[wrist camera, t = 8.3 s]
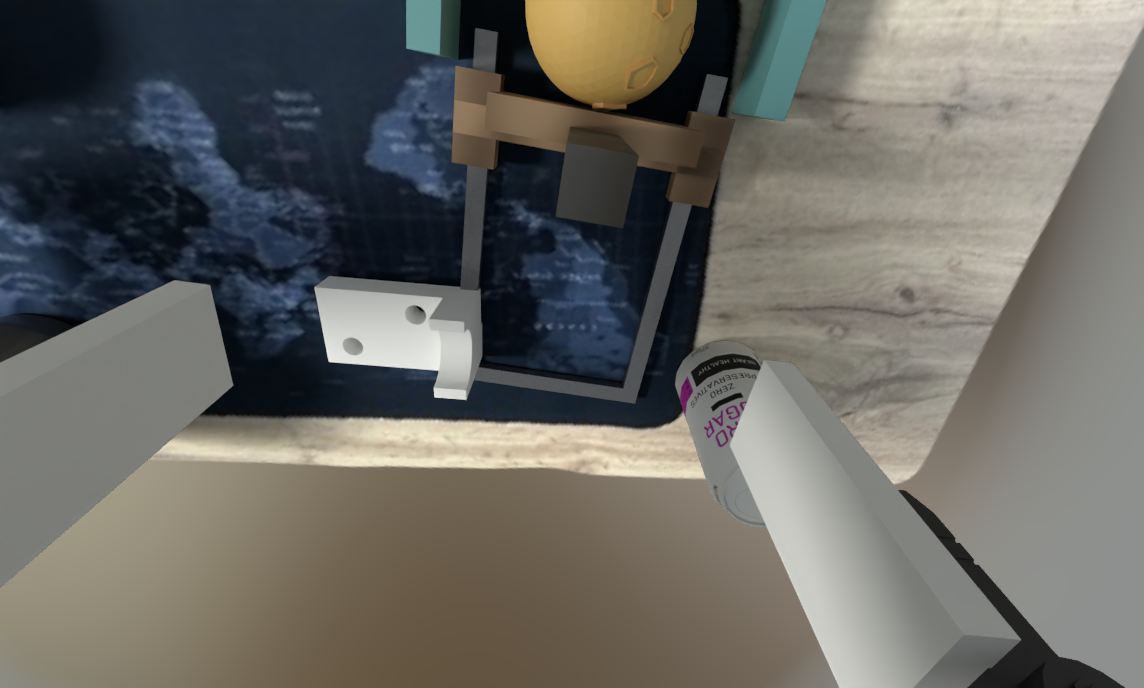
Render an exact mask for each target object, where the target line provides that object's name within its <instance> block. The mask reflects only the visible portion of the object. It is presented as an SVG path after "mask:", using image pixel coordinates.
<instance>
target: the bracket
mask: <svg viewBox="0 0 1144 688" xmlns="http://www.w3.org/2000/svg"><path fill="white" fill-rule="evenodd" d="M314 288H315V293H316V299H317V304H318V309H319V314H320V319H321V324H322V330H323V335H324V340H325V345H326V350H327V355H328V361H329V362H336V363H348V364H361V365H374V366H387V367H399V368H412V369H425V370H438V371H439V372H438V377H437V380H436V383H435V386H434V397H437V398H450V399H463V400H466V399H467V397H468V394H469V391H470V389H471V386H472V383H473V380H474V378H475V375H476V372H477V369H478V367H479V364H480V361H481V358H482V322H481V289H479V290H478V291H475V290H463V289H460V288H461V287H454V286H442V285H430V284H419V283H407V282H395V281H383V280H371V279H359V278H347V277H335V276H329V277H327V278H326V279H325V280H323V281H322V282H321V283H319V284H318V285H317V286H315V287H314ZM416 306H419V307H421V308H422V309H423V310H424V311H425V312H424V311H421V310H419V309H418V308H417V307H416Z"/></svg>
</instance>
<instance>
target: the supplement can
mask: <svg viewBox="0 0 1144 688" xmlns="http://www.w3.org/2000/svg"><path fill="white" fill-rule="evenodd" d="M762 364H763V363H762V362H761V360H760V359H759V358H758V356H757V355H756V354H755V352H754V351H753V350H752V349H750V348H748V347H747V346H745V345H743V344H741V343H737V342H731V341H719V342H713V343H708V344H706V345H704V346H702V347H700V348H698V349H696V350H694V351H693V352H692V353H691V354H690V355H688V356H687V357H686V358H685V359H684V360H683V362H682V364H681V365H680V367H679V369H678V371H677V373H676V382H675V386H676V389H677V392H678V396H679V399H680V402H681V405H682V408H683V411H684V414H685V417H686V420H687V423H688V426H689V429H690V432H691V435H692V438H693V441H694V444H695V447H696V450H697V453H698V456H699V459H700V462H701V465H702V468H703V471H704V474H705V477H706V480H707V483H708V486H709V489H710V492H711V495H712V497H713V498H714V499H715V500H716V501H717V502H718V503H719V504H720V505H721V506H722V507H723V508H724V509H725V510H726V511H727V512H728V513H729V514H730V515H731V516H732V517H733V518H734V519H735V520H737V521H740V522H742V523H744V524H746V525H749V526H757V527H767V526H766V524H765V522H764V520H763V518H762V515H761V513H760V511H759V509H758V507H757V504H756V502H755V500H754V498H753V495H752V493H751V491H750V489H749V487H748V484H747V482H746V480H745V478H744V476H743V473H742V471H741V469H740V467H739V465H738V462H737V460H736V458H735V456H734V453H733V451H732V449H731V447H730V443H731V440H732V438H733V435H734V433H735V430H736V428H737V425H738V423H739V420H740V418H741V416H742V413H743V411H744V408H745V406H746V403H747V401H748V398H749V396H750V393H751V391H752V388H753V386H754V383H755V381H756V379H757V376H758V374H759V371H760V369H761V366H762Z"/></svg>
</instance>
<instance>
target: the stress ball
mask: <svg viewBox="0 0 1144 688" xmlns="http://www.w3.org/2000/svg"><path fill="white" fill-rule="evenodd" d="M525 8H526V23H527V29H528V34H529V39H530V42H531V45H532V48H533V51H534V54H535V56H536V58H537V60H538V62H539V64H540V66H541V67H542V69H543V70H544V72H545V73H546V75H547V76H548V77H549V79H550V80H551V81H552V82H553V83H554V84H555V85H556V86H557V87H558V88H559V89H560V90H561V91H563V92H564V93H565V94H567V95H568V96H570V97H571V98H573V99H575V100H577V101H579V102H582V103H584V104H588V105H591V106H592V109H593V110H594V111H610V110H616V109H624V110H625V109H626V107H627V104H630V103H633V102H635V101H637V100H639V99H641V98H643V97H645V96H647V95H648V94H650V93H651V92H652V91H654V90H655V89H656V88H658V87H659V86H660V85H661V84H662V83H663V82H664V81H665V80H666V79H667V78H668V77H669V75H670V74H671V73H672V72H673V71H674V69H675V68H676V67H677V66H678V64H679V63H680V61H681V58H682V56H683V54H684V53H685V51H686V50H687V48H688V47H689V45H690V42H691V39H692V36H693V33H694V22H695V16H696V9H697V0H525Z"/></svg>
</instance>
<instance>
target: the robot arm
mask: <svg viewBox="0 0 1144 688" xmlns="http://www.w3.org/2000/svg"><path fill="white" fill-rule="evenodd" d="M232 386H233V382H232V378H231V373H230V369H229V365H228V360H227V356H226V352H225V348H224V343H223V339H222V335H221V330H220V326H219V322H218V317H217V313H216V309H215V305H214V300H213V296H212V292H211V287H210V285H206V284H199V283H191V282H184V281H177V280H174V281H172V282H170V283H167V284H165V285H163V286H161V287H159V288H157V289H155V290H153V291H151V292H148V293H146V294H144V295H142V296H140V297H138V298H136V299H134V300H132V301H129V302H127V303H125V304H123V305H121V306H119V307H117V308H115V309H113V310H110V311H108V312H106V313H104V314H102V315H100V316H98V317H96V318H94V319H91V320H89V321H87V322H85V323H83V324H81V325H79V326H77V327H74V326H72V325H70V324H67V323H65V322H62V321H59V320H55V319H52V318H48V317H44V316H38V315H28V314H17V315H9V316H5V317H1V318H0V588H1V587H2V586H3V585H4V584H5V583H7V582H8V581H9V580H10V579H11V578H12V577H13V576H15V575H16V574H17V573H18V572H19V571H20V570H22V569H23V568H24V567H25V566H26V565H27V564H28V563H30V561H32V560H33V559H34V558H35V557H37V556H38V555H39V554H40V553H41V552H42V551H43V550H45V549H46V548H47V547H48V546H49V545H50V544H51V543H52V542H54V541H55V540H56V539H57V538H58V537H60V536H61V535H62V534H63V533H64V532H65V531H66V530H68V529H69V528H70V527H71V526H72V525H73V524H75V523H76V522H77V521H78V520H79V519H80V518H81V517H83V516H84V515H85V514H86V513H87V512H88V511H89V510H91V509H92V508H93V507H94V506H95V505H96V504H98V503H99V502H100V501H101V500H102V499H103V498H104V497H106V496H107V495H108V494H109V493H110V492H111V491H113V490H114V489H115V488H116V487H117V486H118V485H119V484H121V483H122V482H123V481H124V480H125V479H126V478H127V477H129V476H130V475H131V474H132V473H133V472H134V471H135V470H137V469H138V468H139V467H140V466H141V465H142V464H143V463H145V462H146V461H147V460H148V459H149V458H151V457H152V456H153V455H154V454H155V453H156V452H157V451H159V450H160V449H161V448H162V447H163V446H164V445H165V444H167V443H168V442H169V441H170V440H171V439H172V438H174V437H175V436H176V435H177V434H178V433H179V432H180V431H182V430H183V429H184V428H185V427H186V426H187V425H189V424H190V423H191V422H192V421H193V420H194V419H195V418H197V417H198V416H199V415H200V414H201V413H202V412H203V411H205V410H206V409H207V408H208V407H209V406H210V405H212V404H213V403H214V402H215V401H216V400H217V399H218V398H220V397H221V396H222V395H223V394H224V393H225V392H227V391H228V390H229V389H230V388H231V387H232ZM730 447H731V449H732V451H733V453H734V456H735V458H736V460H737V462H738V465H739V467H740V469H741V471H742V473H743V476H744V478H745V480H746V482H747V484H748V487H749V489H750V491H751V493H752V495H753V498H754V500H755V502H756V504H757V507H758V509H759V511H760V513H761V515H762V518H763V520H764V522H765V524H766V526H767V528H768V531H769V533H770V535H771V538H772V540H773V541H774V544H775V546H776V548H777V551H778V553H779V555H780V557H781V560H782V562H783V564H784V566H785V569H786V571H787V573H788V575H789V577H790V580H791V582H792V584H793V586H794V588H795V591H796V593H797V595H798V597H799V599H800V601H801V604H802V606H803V608H804V611H805V613H806V615H807V617H808V619H809V622H810V623H811V626H812V628H813V630H814V632H815V635H816V637H817V639H818V642H819V644H820V646H821V648H822V650H823V653H824V655H825V657H826V659H827V661H828V664H829V666H830V668H831V670H832V672H833V675H834V677H835V679H836V681H837V684H838V686H839V688H1125V687H1123V686H1121V685H1120V684H1119V683H1117V682H1116V681H1114V680H1113V679H1111V678H1110V677H1108V676H1107V675H1105V674H1104V673H1102V672H1100V671H1098V670H1096V669H1094V668H1092V667H1090V666H1088V665H1086V664H1083V663H1081V662H1079V661H1077V660H1072V659H1067V658H1061V657H1058V655H1057V654H1055V652H1054V651H1053V650H1052V649H1051V648H1050V647H1049V646H1048V645H1047V644H1046V642H1045V641H1044V640H1043V639H1042V638H1041V636H1040V635H1039V634H1038V633H1037V632H1036V631H1035V630H1034V628H1033V627H1032V626H1031V625H1030V624H1029V623H1028V621H1027V620H1026V619H1025V618H1024V617H1023V616H1022V614H1021V613H1020V612H1019V611H1018V610H1017V609H1016V607H1015V606H1014V605H1013V604H1012V603H1011V602H1010V601H1009V600H1008V598H1007V597H1006V596H1005V595H1004V594H1003V593H1002V591H1001V590H1000V589H999V588H998V587H997V586H996V584H995V583H994V582H993V581H992V580H991V579H990V578H989V576H988V575H987V574H986V573H985V572H984V571H983V570H982V569H981V567H980V566H979V565H975V564H974V562H973V561H974V559H973V558H972V557H971V556H970V554H969V553H968V552H967V551H966V550H965V549H964V547H963V546H962V545H961V544H960V543H956V542H955V537H954V536H953V535H952V534H951V532H950V531H949V530H948V529H947V528H946V527H945V525H944V524H943V523H942V522H941V521H940V520H939V518H938V517H937V516H936V515H935V514H934V513H933V512H932V511H931V510H929V509H928V508H927V507H926V506H924V505H923V504H922V503H920V502H919V501H918V500H917V499H915V498H914V497H913V496H911V495H910V494H909V493H908V492H907V491H904V490H897V488H896V487H895V486H894V485H893V483H892V482H891V481H890V480H889V479H888V477H887V476H886V475H885V474H884V473H883V471H882V470H881V469H880V468H879V466H878V465H877V464H876V463H875V462H874V460H873V459H872V458H871V457H870V456H869V454H868V453H867V452H866V451H865V449H864V448H863V447H862V446H861V445H860V443H859V442H858V441H857V440H856V439H855V437H854V436H853V435H852V434H851V432H850V431H849V430H848V429H847V428H846V426H845V425H844V424H843V423H842V422H841V420H840V419H839V418H838V417H837V415H836V414H835V413H834V412H833V411H832V409H831V408H830V407H829V406H828V405H827V403H826V402H825V401H824V400H823V399H822V397H821V396H820V395H819V394H818V392H817V391H816V390H815V389H814V388H813V386H812V385H811V384H810V383H809V382H808V380H807V379H806V378H805V377H804V375H803V374H802V373H801V372H800V371H799V369H798V368H797V367H796V366H795V365H794V363H786V362H779V361H771V360H764V361H763V364H762V366H761V369H760V371H759V374H758V376H757V379H756V381H755V383H754V386H753V388H752V391H751V393H750V396H749V398H748V401H747V403H746V406H745V408H744V411H743V413H742V416H741V418H740V420H739V423H738V425H737V428H736V430H735V433H734V435H733V438H732V440H731V443H730Z"/></svg>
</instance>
